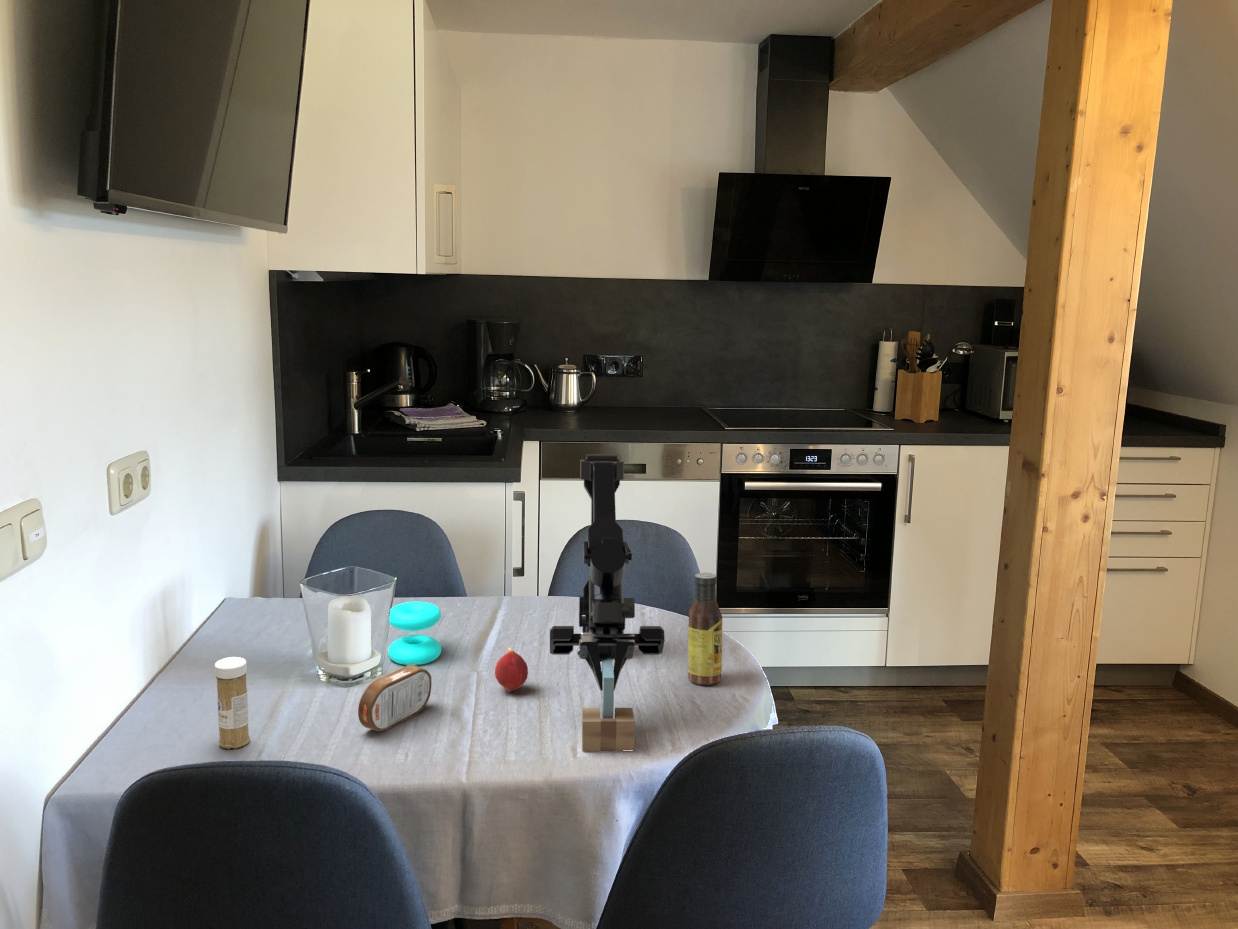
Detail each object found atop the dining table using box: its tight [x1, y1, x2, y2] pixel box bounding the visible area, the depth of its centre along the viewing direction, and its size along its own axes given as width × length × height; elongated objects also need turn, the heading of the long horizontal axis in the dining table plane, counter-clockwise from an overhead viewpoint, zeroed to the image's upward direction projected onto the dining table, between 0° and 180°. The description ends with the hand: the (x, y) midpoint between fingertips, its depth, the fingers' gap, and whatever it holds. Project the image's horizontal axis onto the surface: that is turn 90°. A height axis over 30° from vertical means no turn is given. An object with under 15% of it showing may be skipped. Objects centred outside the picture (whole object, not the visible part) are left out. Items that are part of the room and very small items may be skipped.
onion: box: [494, 647, 529, 692], centre depth 174 cm, size 6×6×8 cm
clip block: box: [581, 707, 635, 752], centre depth 155 cm, size 5×8×5 cm, turn 93°
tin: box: [357, 664, 433, 732], centre depth 162 cm, size 15×3×8 cm, turn 149°
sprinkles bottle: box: [214, 656, 251, 750], centre depth 152 cm, size 5×5×13 cm
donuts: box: [387, 601, 442, 666], centre depth 189 cm, size 10×10×10 cm
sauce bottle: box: [687, 572, 723, 686], centre depth 180 cm, size 7×6×20 cm
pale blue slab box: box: [600, 659, 615, 719], centre depth 158 cm, size 8×2×11 cm, turn 3°
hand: (607, 689), depth 158 cm, fingers closed on pale blue slab box, 2 cm apart
